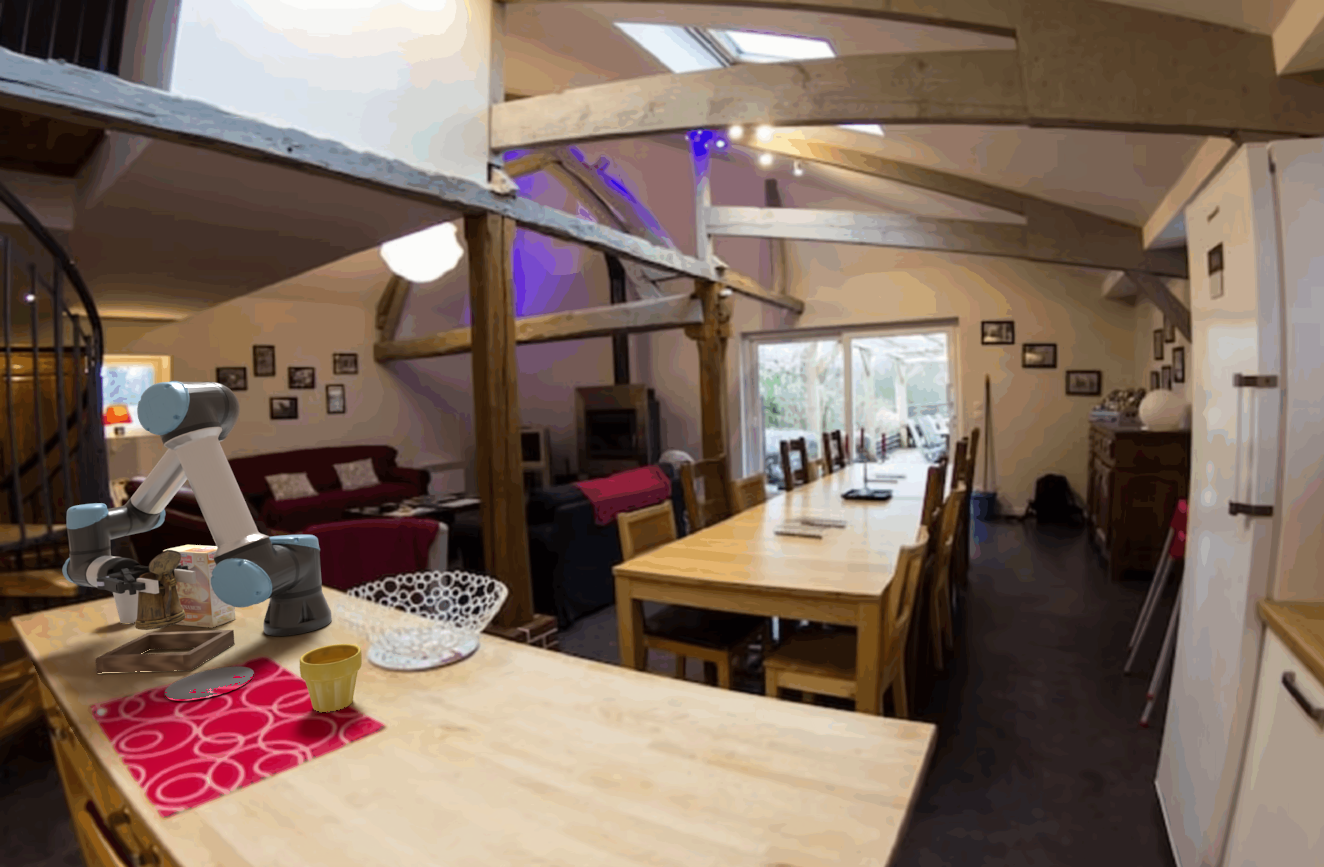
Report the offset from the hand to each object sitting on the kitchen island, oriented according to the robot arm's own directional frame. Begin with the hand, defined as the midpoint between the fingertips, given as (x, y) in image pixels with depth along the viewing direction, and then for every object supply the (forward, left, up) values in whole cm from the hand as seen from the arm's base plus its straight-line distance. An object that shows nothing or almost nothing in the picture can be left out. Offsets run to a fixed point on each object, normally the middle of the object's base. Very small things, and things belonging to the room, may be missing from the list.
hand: (175, 582), depth 149 cm
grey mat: (-14, +13, -18) cm, 26 cm away
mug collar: (+5, -2, -18) cm, 19 cm away
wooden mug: (+5, -2, -10) cm, 11 cm away
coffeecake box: (+14, -27, -18) cm, 36 cm away
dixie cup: (+34, -30, -18) cm, 49 cm away
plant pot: (-44, +24, -18) cm, 54 cm away
